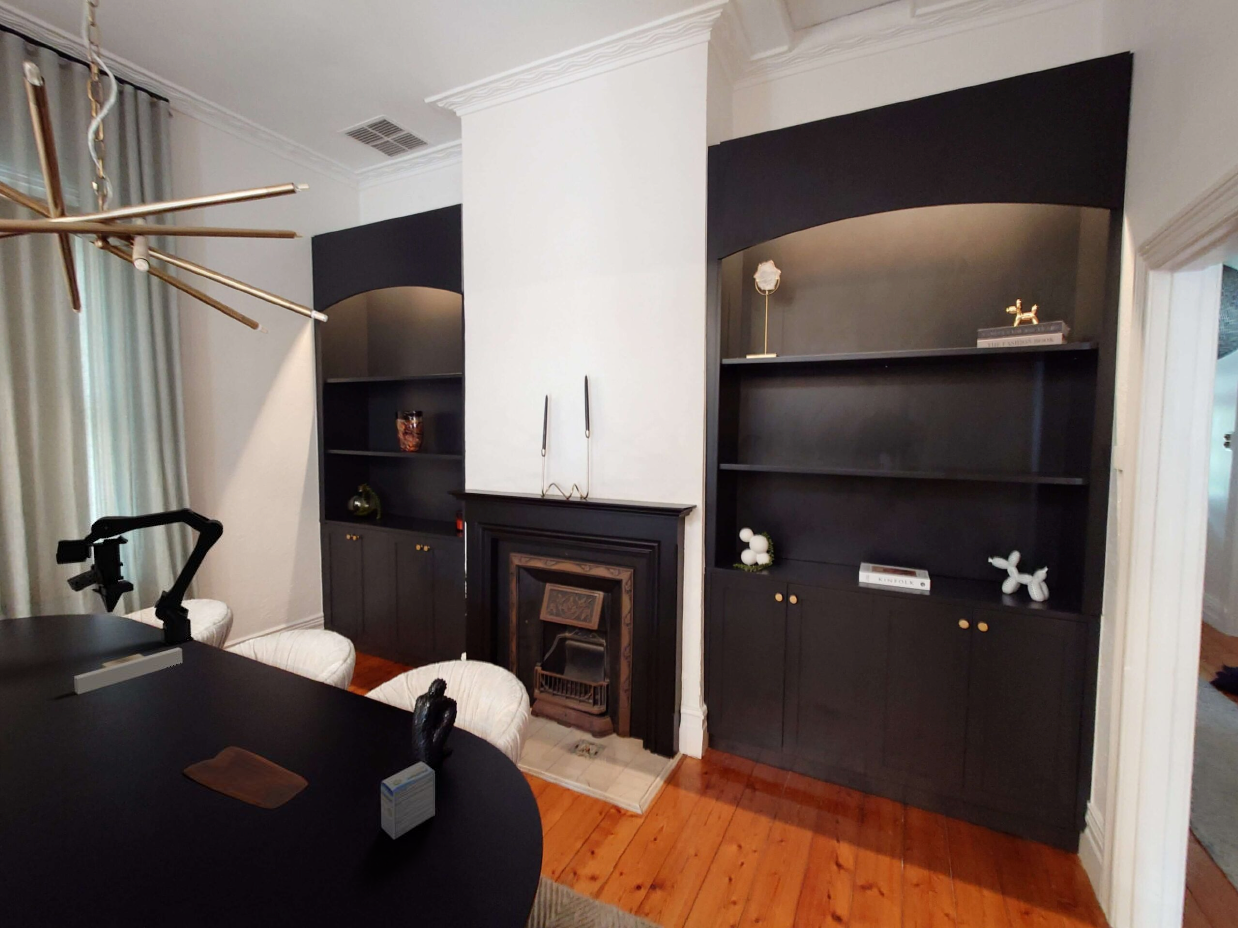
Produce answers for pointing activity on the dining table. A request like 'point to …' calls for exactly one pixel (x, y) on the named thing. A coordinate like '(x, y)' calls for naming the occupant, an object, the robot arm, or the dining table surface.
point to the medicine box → (407, 799)
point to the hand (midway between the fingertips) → (109, 612)
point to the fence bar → (126, 670)
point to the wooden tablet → (247, 778)
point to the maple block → (121, 660)
